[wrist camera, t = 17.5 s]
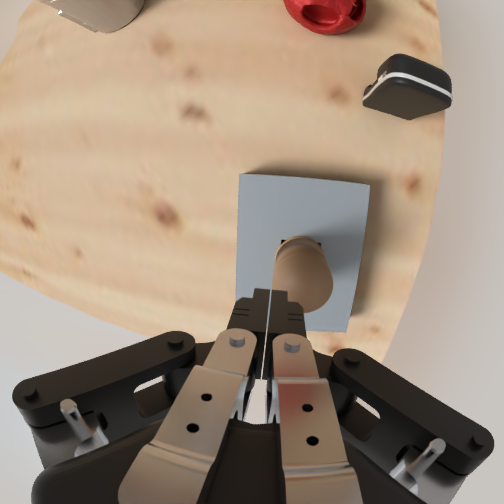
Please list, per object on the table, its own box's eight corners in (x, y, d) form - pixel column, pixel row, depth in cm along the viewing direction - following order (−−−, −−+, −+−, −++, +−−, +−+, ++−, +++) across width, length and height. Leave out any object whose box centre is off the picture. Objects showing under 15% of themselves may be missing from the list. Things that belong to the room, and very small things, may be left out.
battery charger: (412, 95, 26) (459, 72, 15) (410, 122, 27) (459, 107, 16) (362, 79, 26) (393, 43, 16) (359, 106, 28) (392, 79, 17)
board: (239, 310, 37) (235, 324, 34) (244, 173, 32) (239, 174, 28) (341, 318, 36) (346, 332, 32) (361, 183, 30) (370, 185, 27)
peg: (274, 272, 34) (269, 311, 25) (277, 228, 33) (273, 253, 23) (318, 275, 34) (328, 315, 24) (323, 232, 32) (338, 258, 23)
